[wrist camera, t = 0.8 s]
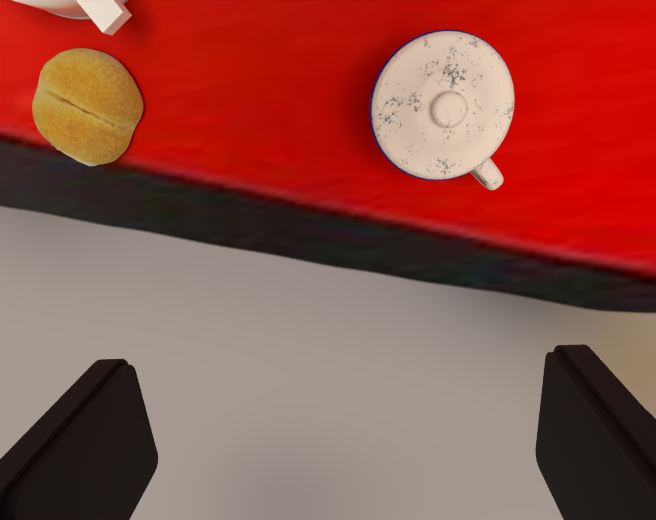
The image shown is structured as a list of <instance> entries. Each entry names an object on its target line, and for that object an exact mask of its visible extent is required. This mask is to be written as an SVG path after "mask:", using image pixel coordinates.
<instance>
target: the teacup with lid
mask: <svg viewBox="0 0 656 520" xmlns="http://www.w3.org/2000/svg"><path fill="white" fill-rule="evenodd" d="M513 111H514V87H513V81H512V78H511V74H510V72H509V69H508V67H507V65H506V63H505V61H504V60H503V59H502V57H501V56H500V54H499V53H498V52H497V51H496V50H495V49H494V48H493V47H492V46H491V45H490V44H489V43H487V42H486V41H485V40H483V39H481V38H480V37H478V36H475V35H473V34H471V33H468V32H464V31H459V30H437V31H432V32H427V33H425V34H422V35H419V36H417V37H415V38H413V39H411V40H410V41H408V42H406V43H405V44H404V45H402V46H401V47H400V48H399V49H397V50H396V51H395V52H394V53H393V54H392V55H391V56H390V57H389V59H388V60H387V61H386V63H385V64H384V65H383V67H382V69H381V70H380V72H379V74H378V76H377V78H376V80H375V83H374V86H373V89H372V93H371V97H370V104H369V116H370V124H371V129H372V133H373V136H374V139H375V141H376V143H377V145H378V147H379V149H380V150H381V152H382V153H383V155H384V156H385V157H386V158H387V159H388V161H389V162H390V163H391V164H393V165H394V166H395V167H396V168H398V169H399V170H401V171H402V172H404V173H406V174H408V175H410V176H413V177H416V178H419V179H424V180H448V179H453V178H456V177H460V176H462V175H465V174H467V173H469V172H470V173H471V174H472V175H473V176H474V177H475V178H476V179H477V180H478V181H479V182H480V183H481V184H482V185H483V186H484V187H486V188H487V189H489V190H495V189H496V188H498V187H499V186H500V185H501V184H502V183H503V176H502V174H501V172H500V171H499V169H498V168H497V167H496V165H495V164H494V163H493V161H492V160H491V159H490V157H491V156H492V155H493V153H494V152H495V151H496V150H497V149H498V147H499V146H500V144H501V143H502V141H503V140H504V138H505V136H506V134H507V132H508V129H509V127H510V124H511V120H512V116H513Z"/></svg>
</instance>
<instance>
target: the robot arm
mask: <svg viewBox="0 0 656 520" xmlns="http://www.w3.org/2000/svg"><path fill="white" fill-rule="evenodd" d="M536 459H537V463H538V466H539V469H540V471H541V473H542V475H543V477H544V479H545V481H546V484H547V485H548V488H549V490H550V492H551V494H552V496H553V498H554V500H555V502H556V504H557V506H558V509H559V511H560V513H561V515H562V517H563V519H564V520H656V419H655V418H654V417H653V416H652V415H651V414H650V413H649V412H648V411H647V410H646V409H644V407H643V406H642V405H641V404H640V403H639V402H638V401H637V400H636V398H635V397H634V396H633V395H632V394H631V393H630V392H629V391H628V390H627V389H626V387H625V386H624V385H623V384H622V383H621V382H620V381H619V380H618V378H616V376H615V375H614V374H613V373H612V372H611V371H610V370H609V369H608V367H607V366H606V365H605V364H604V363H603V362H602V361H601V360H600V359H599V357H598V356H597V355H596V354H595V353H594V352H593V351H592V350H591V349H590V347H588V346H587V345H558V346H556V347H555V349H554V352H549V353H547V355H546V359H545V367H544V376H543V386H542V395H541V405H540V413H539V422H538V432H537V441H536ZM157 464H158V453H157V449H156V446H155V442H154V438H153V435H152V430H151V427H150V423H149V419H148V416H147V412H146V408H145V404H144V401H143V397H142V393H141V389H140V385H139V382H138V378H137V374H136V371H135V368H134V367H133V366H132V365H129V364H128V363H127V361H126V360H124V359H105V360H98V361H96V362H95V363H94V364H93V365H92V366H91V367H90V368H89V369H88V370H87V371H86V372H85V373H84V374H83V375H82V376H81V377H80V378H79V379H78V380H77V381H76V382H75V383H74V384H73V385H72V386H71V387H70V388H69V389H68V390H67V391H66V392H65V393H64V394H63V395H62V396H61V397H60V399H59V400H58V401H57V402H56V403H55V404H54V405H53V406H52V407H51V408H50V409H49V410H48V411H47V412H46V413H45V414H44V415H43V416H42V417H41V418H40V419H39V420H38V421H37V422H36V423H35V424H34V425H33V426H32V427H31V428H30V429H29V430H28V431H27V432H26V433H25V434H24V435H23V436H22V437H21V439H20V440H19V441H18V442H17V443H16V444H15V445H14V446H13V447H12V448H11V449H10V450H9V451H8V452H7V453H6V454H5V455H4V456H3V457H2V458H1V459H0V520H129V519H130V517H131V515H132V514H133V512H134V510H135V508H136V506H137V504H138V502H139V501H140V499H141V497H142V495H143V493H144V491H145V489H146V488H147V486H148V484H149V482H150V480H151V478H152V476H153V474H154V473H155V470H156V468H157Z"/></svg>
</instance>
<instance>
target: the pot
mask: <svg viewBox="0 0 656 520" xmlns="http://www.w3.org/2000/svg"><path fill="white" fill-rule="evenodd" d="M13 1H16V2H19V3H23V4H26V5H30V6H33V7H36V8H40V9H43V10H46V11H48V12H50V13H53V14H56V15H59V16H62V17H66V18H70V19H76V20H91V19H92V20H93V22H94V23H95V24H96V25H97V26H98V28H99V29H100V30H101V31H102V32H103V33H105V34H109V35H113V34H114V33H115V32H116V31H117V30H118V29H119V28H120V27H121V26H122V25H123V24H124V23H125V22H126V21H127V20H128V19H129V18H130V17H131V16H132V15H131V14H130V12H129V11H128V10H127V9H126V7H125V6H124V4H125V3H126V2H128V0H13Z"/></svg>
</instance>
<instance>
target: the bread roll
mask: <svg viewBox="0 0 656 520" xmlns="http://www.w3.org/2000/svg"><path fill="white" fill-rule="evenodd" d="M143 107H144V104H143V100H142V97H141V94H140V92H139V90H138V88H137V86H136V84H135V82H134V80H133V78H132V77H131V75H130V74H129V73H128V71H127V70H126V69H125V67H124V66H123V65H122V64H121V63H120V62H119V61H118V60H116V59H115V58H113V57H112V56H110V55H108V54H106V53H103V52H100V51H97V50H92V49H86V48H76V49H70V50H66V51H63V52H60V53H59V54H57V55H56V56H55V57H53V58H52V59H50V60H49V61H48V62H47V63H46V64H45V65H44V67H43V69H42V71H41V73H40V77H39V82H38V87H37V90H36V93H35V96H34V99H33V103H32V108H33V118H34V121H35V124H36V126H37V129H38V131H39V132H40V133H41V134H42V135H43V137H44V138H46V139H47V140H48V141H49V142H50V143H51V144H52V145H53V146H54V147H56V149H57V150H60V151H62V152H63V153H64V154H66V155H68V156H70V157H72V158H73V159H75V160H77V161H78V162H81V163H83V164H86V165H88V166H96V165H99V164H105V163H110V162H113V161H115V160H116V159H117V158H119V157H120V156H121V155H122V154H123V153H124V152H125V150H126V149H127V147H128V146H129V143H130V140H131V138H132V134H133V132H134V129H135V127H136V125H137V124H138V122H139V120H140V119H141V116H142V113H143Z"/></svg>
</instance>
